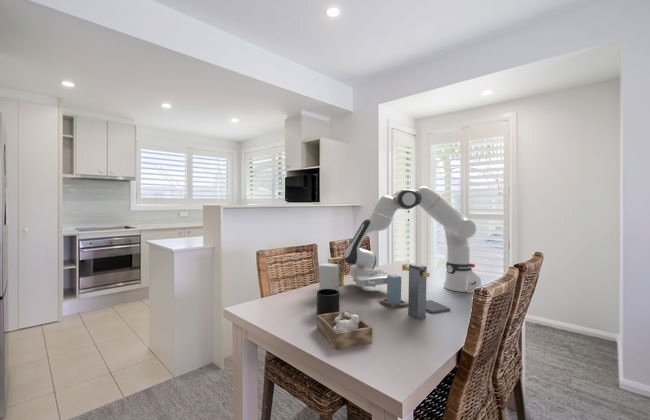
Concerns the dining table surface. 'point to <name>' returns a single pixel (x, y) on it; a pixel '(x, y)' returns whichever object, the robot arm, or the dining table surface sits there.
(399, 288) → the block
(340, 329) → the rabbit figurine
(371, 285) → the robot arm
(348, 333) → the display box
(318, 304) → the mug
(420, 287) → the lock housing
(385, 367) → the dining table surface
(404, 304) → the socket frame
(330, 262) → the candy box
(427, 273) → the bolt
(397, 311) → the dining table surface
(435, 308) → the mat
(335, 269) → the skincare box
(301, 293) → the dining table surface
